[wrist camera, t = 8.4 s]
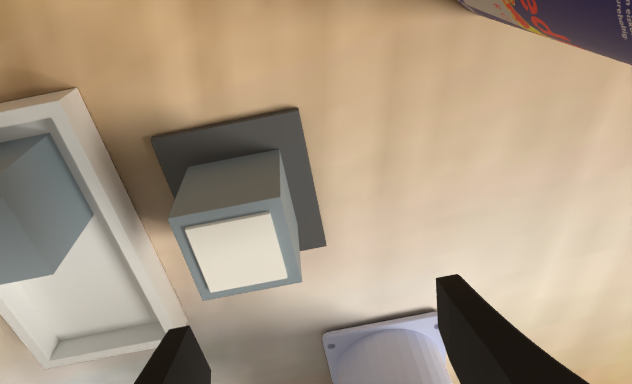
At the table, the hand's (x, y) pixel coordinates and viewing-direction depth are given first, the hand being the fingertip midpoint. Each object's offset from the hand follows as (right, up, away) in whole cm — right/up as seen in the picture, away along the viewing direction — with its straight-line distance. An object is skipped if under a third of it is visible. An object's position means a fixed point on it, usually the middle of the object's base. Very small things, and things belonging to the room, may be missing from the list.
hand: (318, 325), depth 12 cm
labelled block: (-4, +4, +9) cm, 10 cm away
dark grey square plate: (-4, +4, +10) cm, 11 cm away
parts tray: (-13, +1, +10) cm, 17 cm away
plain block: (-14, +4, +8) cm, 16 cm away
